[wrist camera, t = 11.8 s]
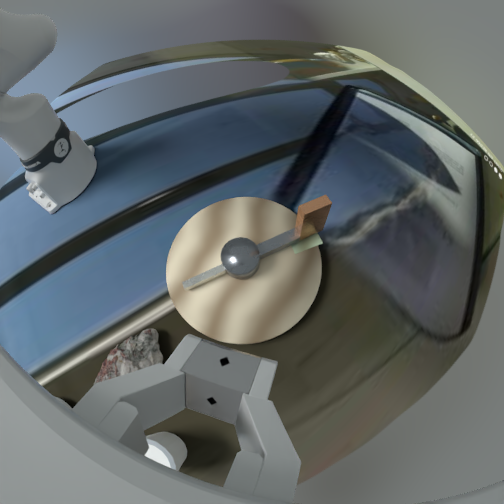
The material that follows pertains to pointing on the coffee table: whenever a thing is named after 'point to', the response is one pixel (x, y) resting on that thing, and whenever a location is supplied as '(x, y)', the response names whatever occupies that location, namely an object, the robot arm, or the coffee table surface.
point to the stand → (243, 290)
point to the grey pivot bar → (265, 245)
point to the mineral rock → (131, 356)
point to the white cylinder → (166, 449)
